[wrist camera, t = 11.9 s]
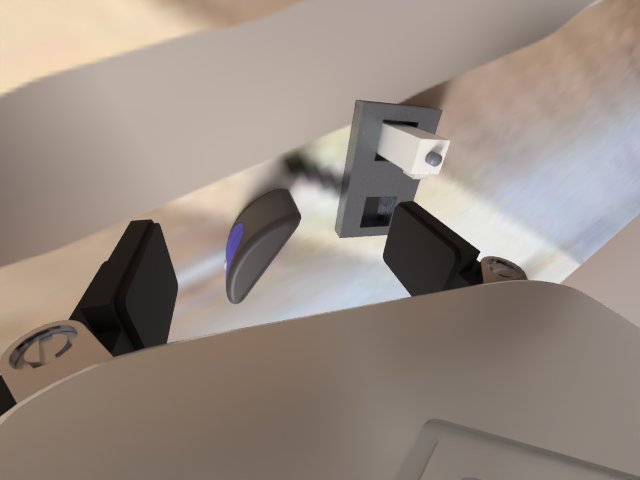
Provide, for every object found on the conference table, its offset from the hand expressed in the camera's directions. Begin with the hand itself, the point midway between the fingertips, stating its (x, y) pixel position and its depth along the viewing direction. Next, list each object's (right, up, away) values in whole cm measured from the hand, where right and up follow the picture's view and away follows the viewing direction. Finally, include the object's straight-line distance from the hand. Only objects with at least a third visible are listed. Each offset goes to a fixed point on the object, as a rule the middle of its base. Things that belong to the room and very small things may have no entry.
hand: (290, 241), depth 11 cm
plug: (+11, +15, +28) cm, 34 cm away
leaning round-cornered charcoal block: (-9, +2, +30) cm, 32 cm away
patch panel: (+11, +10, +31) cm, 34 cm away
